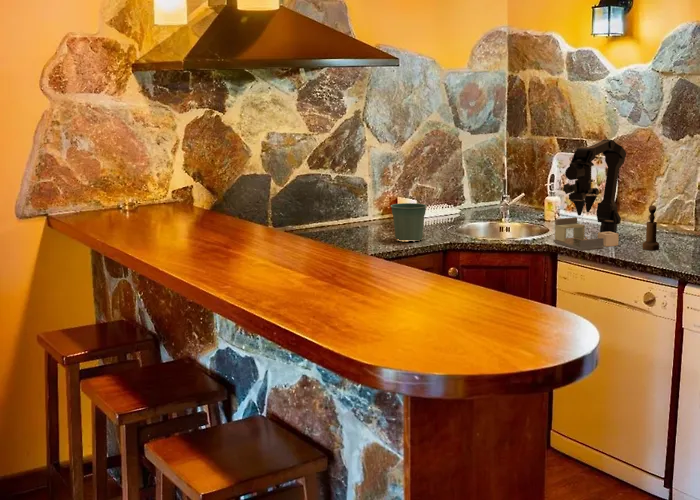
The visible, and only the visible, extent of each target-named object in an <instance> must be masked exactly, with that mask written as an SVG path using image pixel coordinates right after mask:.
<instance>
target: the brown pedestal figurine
mask: <svg viewBox="0 0 700 500" xmlns="http://www.w3.org/2000/svg"><path fill="white" fill-rule="evenodd" d="M648 211H649V216H648V218H649V221H646V232H645V233H646V235H645V240H644V241H643V242H642V250H646V251H659V250H660V243H659V242H658V240H657V230H658V229H657V228H658V227H657V225H658V222H657V221H655V219H656V216H655V214H656V211H657V206H656V205H649V206H648Z"/></svg>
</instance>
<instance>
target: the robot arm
mask: <svg viewBox="0 0 700 500" xmlns="http://www.w3.org/2000/svg"><path fill="white" fill-rule="evenodd" d="M599 154H602V155H603V156H604V162H605V164H606V166H607V170H606V177H605V183H604V184H605V185H604V192H603V198H602V200H601V201H600V202H598V203H597V207H596V213H595V214H596V219H597V220H596V221H597V223H600V226H599V232H614V233H617V232H618V225H619V224H620V223H621V221H622V220H621V218H622V217H621V216H620V214H619V212H618V206H617V203H616V193H617V186H618V181H619V173H620V168H621V167H622V166H623V164H624V163H625V160H626V157H627V151H626V150H625V148H624V147H623V146H622V145H620V144H618V143H617V142H616V141H615V140H614V139H601V141H598V142H596V143H594V144H592V145H588V146H581V147H577V148H576V150H575V151H574V154H573V157H572V158H571V161H570V163H569V166H568V167H567V168H566V170H565V171H564V175H565V178H566V179H567V180H570V181H574V180H575V181H574V183H572V184H570V183H566V184H564V185H563V187H562V191H563V192H564V193H565V195H568V200H570V202H572V203H573V204H574V207H575V209H576V213H577V216H579V217H580V216H582V213H583V210H584V207H585V210H586V213H590V211H591V209H592V207H593V205H594V203H595V201H596V199H597V197H598V195H600V192H599V191H600V190H599V189H598V187H592V183H593V182H594V179H593V178H592V169H593V168H592V167H594V166H595V165H594V163H593V161H594V160H595V159H596V157H597V156H598V155H599ZM619 236H620V235H619V234H618V237H619Z"/></svg>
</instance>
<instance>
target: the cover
mask: <svg viewBox="0 0 700 500" xmlns="http://www.w3.org/2000/svg"><path fill="white" fill-rule="evenodd" d="M554 220H555V224H554V229H555V231H554V240H555V239H557V240H560V241H563V242H566V238H567V230H568V229H569V230H570V229H573V231H572V232H573V234H572V235H573V236H572V238H578V239H581V240H584V239H585V231H586V229H585V227H586V225H585V224H582V223H578V217H566V218H556V219H554Z"/></svg>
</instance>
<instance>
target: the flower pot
mask: <svg viewBox="0 0 700 500" xmlns="http://www.w3.org/2000/svg"><path fill="white" fill-rule="evenodd" d="M427 207H428V205H427V204H424V203H417V202H415V203H414V202H408V203H407V202H404V203H403V202H402V203H393V204H391V205H390V208H391V214H392V216H393V217H392V218H393V227H394V228H393V229H394V239H395V238H396V239H399V240H421V239H422V240H423V237H424V235H423V234H424V233H423V232H424V225H425V223H424V222H425V215H426V211H427Z"/></svg>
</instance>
